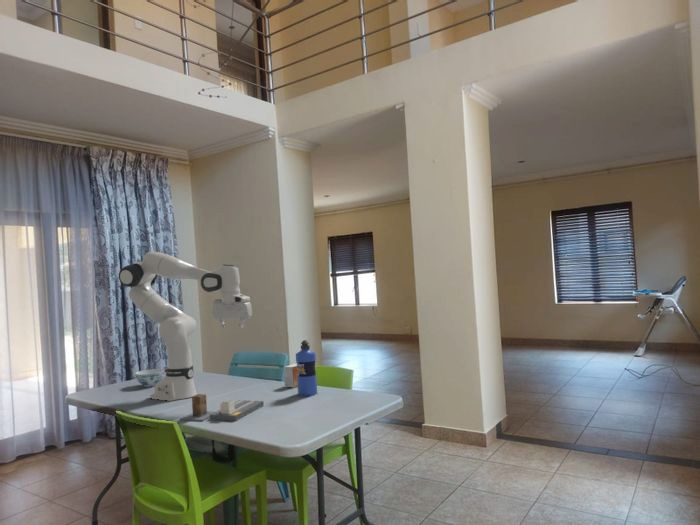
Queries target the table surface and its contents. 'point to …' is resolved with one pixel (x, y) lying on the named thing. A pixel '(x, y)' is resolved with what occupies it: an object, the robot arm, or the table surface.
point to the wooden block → (199, 405)
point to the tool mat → (194, 418)
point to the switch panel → (238, 410)
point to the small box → (290, 375)
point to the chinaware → (149, 377)
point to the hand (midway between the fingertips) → (232, 327)
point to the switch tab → (227, 406)
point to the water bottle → (306, 370)
